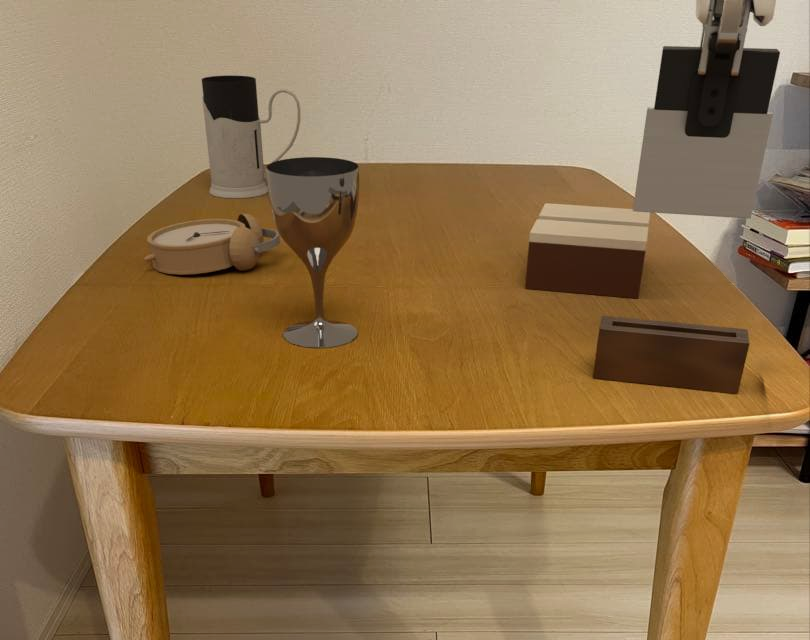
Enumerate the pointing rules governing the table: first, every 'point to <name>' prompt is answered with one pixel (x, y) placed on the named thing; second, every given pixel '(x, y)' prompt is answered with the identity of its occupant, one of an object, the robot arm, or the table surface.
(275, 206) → the wine glass
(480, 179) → the table surface
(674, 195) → the dough scraper
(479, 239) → the table surface
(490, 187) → the table surface
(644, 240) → the cake near
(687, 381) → the block
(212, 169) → the glass holder
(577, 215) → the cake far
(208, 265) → the alarm clock
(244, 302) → the table surface
